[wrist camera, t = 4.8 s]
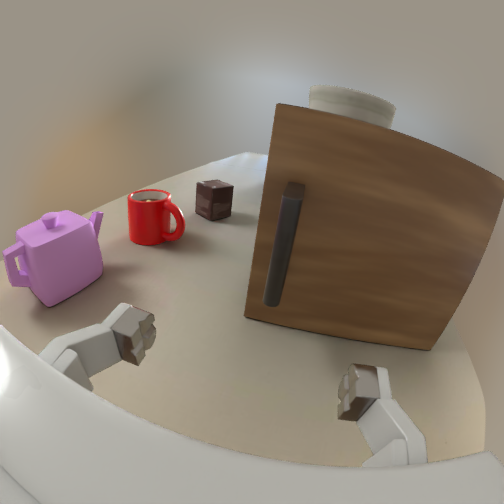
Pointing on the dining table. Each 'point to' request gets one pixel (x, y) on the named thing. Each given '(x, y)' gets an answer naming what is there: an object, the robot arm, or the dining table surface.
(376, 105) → the planter
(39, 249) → the teapot
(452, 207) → the cupboard door
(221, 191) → the box
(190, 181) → the dining table surface
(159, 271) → the dining table surface
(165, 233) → the mug
